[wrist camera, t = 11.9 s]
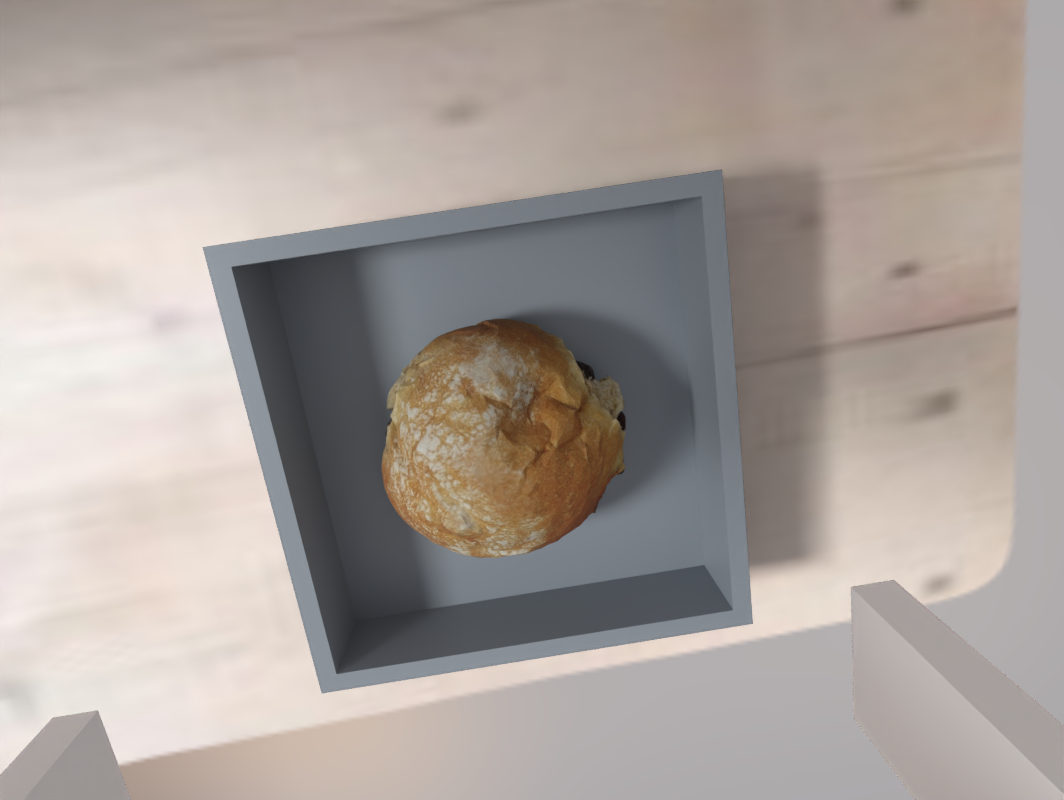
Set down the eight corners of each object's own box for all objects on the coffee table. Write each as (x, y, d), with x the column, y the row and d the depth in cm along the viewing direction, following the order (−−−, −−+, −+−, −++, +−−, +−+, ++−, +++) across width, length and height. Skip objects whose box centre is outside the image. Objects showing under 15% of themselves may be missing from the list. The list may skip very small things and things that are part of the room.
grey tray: (345, 630, 32) (321, 693, 27) (250, 245, 27) (202, 247, 23) (717, 571, 32) (752, 623, 28) (685, 180, 27) (722, 169, 23)
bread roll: (442, 301, 31) (333, 312, 24) (653, 329, 27) (600, 352, 20) (432, 494, 33) (330, 557, 26) (625, 542, 30) (569, 631, 22)
